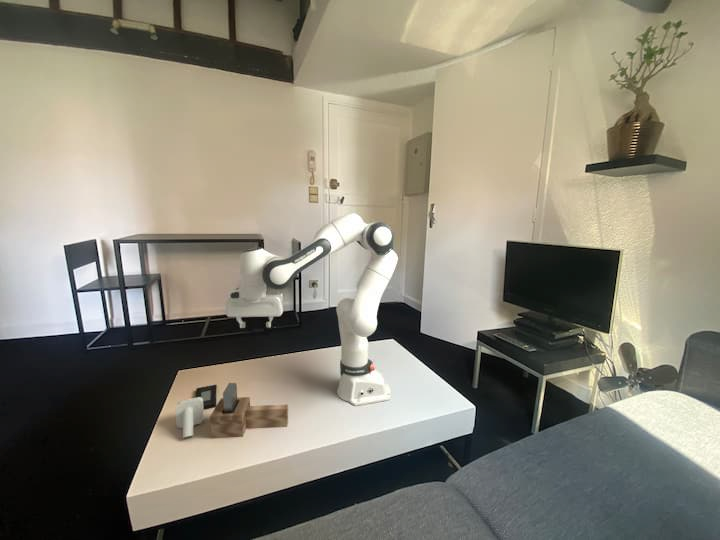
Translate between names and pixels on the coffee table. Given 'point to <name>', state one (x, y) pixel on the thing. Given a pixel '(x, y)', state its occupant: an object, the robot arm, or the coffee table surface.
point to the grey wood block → (230, 398)
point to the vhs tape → (207, 396)
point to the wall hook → (189, 414)
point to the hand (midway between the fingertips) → (255, 327)
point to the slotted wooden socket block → (246, 418)
